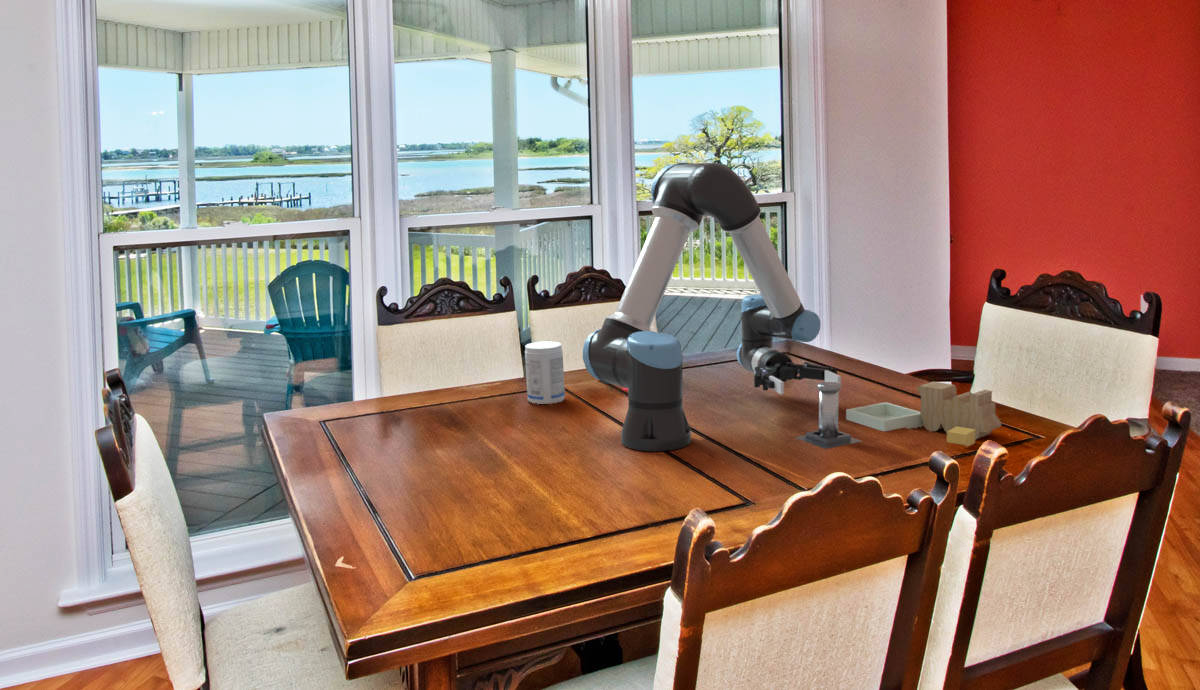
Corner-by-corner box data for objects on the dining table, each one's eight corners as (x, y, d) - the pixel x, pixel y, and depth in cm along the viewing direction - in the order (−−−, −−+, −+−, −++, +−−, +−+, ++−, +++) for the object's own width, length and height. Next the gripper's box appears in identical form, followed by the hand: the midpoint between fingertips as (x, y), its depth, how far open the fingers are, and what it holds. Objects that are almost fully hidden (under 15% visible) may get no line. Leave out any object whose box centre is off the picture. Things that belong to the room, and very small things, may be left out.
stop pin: (826, 443, 212) (827, 388, 210) (811, 438, 216) (812, 383, 214) (844, 440, 215) (845, 384, 212) (829, 434, 219) (830, 380, 216)
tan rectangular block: (965, 448, 209) (966, 434, 208) (946, 445, 212) (947, 431, 211) (974, 443, 213) (975, 429, 212) (956, 440, 215) (956, 426, 215)
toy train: (987, 443, 212) (989, 397, 211) (915, 428, 225) (916, 384, 223) (1000, 438, 216) (1003, 392, 214) (929, 423, 229) (930, 380, 227)
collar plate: (825, 452, 209) (825, 443, 209) (794, 441, 218) (794, 432, 217) (862, 444, 214) (862, 435, 213) (830, 433, 222) (830, 425, 222)
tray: (884, 434, 220) (884, 421, 220) (846, 422, 231) (846, 409, 230) (924, 426, 226) (924, 413, 225) (885, 415, 236) (885, 402, 236)
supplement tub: (561, 395, 264) (559, 339, 261) (568, 403, 255) (566, 346, 252) (524, 398, 262) (522, 342, 259) (530, 406, 253) (527, 349, 250)
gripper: (820, 376, 247) (862, 396, 227) (724, 385, 242) (758, 407, 221) (820, 345, 246) (862, 363, 225) (723, 355, 240) (757, 373, 220)
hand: (811, 385), depth 223 cm, fingers open, 13 cm apart
